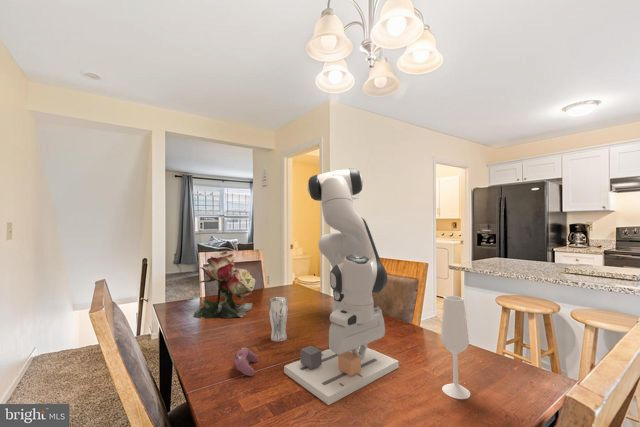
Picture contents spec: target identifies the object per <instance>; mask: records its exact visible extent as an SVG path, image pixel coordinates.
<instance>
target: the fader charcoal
mask: <svg viewBox="0 0 640 427" xmlns="http://www.w3.org/2000/svg"><path fill="white" fill-rule="evenodd" d="M321 352H322V350H321V349H318V348H317V347H315V346H313V345H308V346H306V347H303V348H300V360H301V363H302V364H303V365H305V366H306V367H308V368H310V369H313V368H315V367H317V366H320V365H322V354H321Z"/></svg>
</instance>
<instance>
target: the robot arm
mask: <svg viewBox="0 0 640 427" xmlns="http://www.w3.org/2000/svg"><path fill="white" fill-rule="evenodd" d="M363 186H364V178H363V175H362V173H360V171H359V170H358V168H348V169H337V170H333V171H329V172H323V173H320V174H315V175H312V176H310V177H309V179H308V181H307V192H308V194H309V196H310V198H311V199H312V200H314V201H319V202H321V207H322V208H321V210H322V211H321V212H322V215H323V220H324V222H325V223H326V224H327V225H328V226H329V227H330V228H331V229H333V230H335V231H338V232H330V233H326V234H322V235H321V237H320V238H319V241H318V249H319V251H320V253H321V255H323V256H325V258H326V259H327V260H328V262H329V263H330V266H331V270H330V273H329V284H330V288H331V290H332V294H333V303H332V309H331V310H332V312H331V313H330V314H329V321H330V322H331V324H330V326H329V330H328V346H329V348H328V349H330V350H331V351H332V352H334V353H336V354H339V355H340V354H342V353H345V352H347V351H350V350H351V351H352V353H354V354H356V355H358V356H360V357H361V360H363V359H365V352H366V349H367V348H368V344H369V343H371V342H374V341H377V340H380V339H383V338H384V337H385V334H386V326H385V319H384V315H383V310H382V308H381V307H380V306H377V305H376V306H375V305H374V298H373V294H379V293H381V292H382V291H383V289H385V288H386V286H387V284H388V274H387V270H386V268H385V266H384V264H383V262H382V261H381V258H380V256H379V253H378V250H377V248H376V244H375V242H374V239H373V235H372V234H371V231H370V228H369V225H368V223H367V221H366V219H365V218H363V217H362V216H361V215H359V213H358V211H356V208H355V206H354V201H353V197H352V196H355V195H358V194H361V191H362V190H363ZM359 347H360V349H359ZM357 350H359V352H358V351H357Z"/></svg>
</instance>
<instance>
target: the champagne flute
mask: <svg viewBox="0 0 640 427" xmlns="http://www.w3.org/2000/svg"><path fill="white" fill-rule="evenodd" d="M442 302H443V305H442V315H441V316H442V317H441V327H440V328H441V330H440V341H441V343H442V345H443V346H444V347H445V348H446V349H447V350H448V351H449V352H450V353H451V354H452V378H453V379H452V383H448V384H444V385H443V386H442V388H441V389H442V392H443V393H444V394H445V395H447V396H449V397H450V398H453V399H456V400H457V399H458V400H466V399H469V398H470V396H471V391H470V390H468V388H466V387H464V386H462V385H461V384H459V361H458V360H459V358H458V355H459V354H461V353H462V352H464V351H465V350H466V349H468V348H469V347H468V346H469V345H470V338H469V330H468V323H467V317H466V307H465V300H464V298H463V297H461V296H457V295H445V296H443V301H442Z"/></svg>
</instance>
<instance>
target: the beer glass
mask: <svg viewBox="0 0 640 427" xmlns="http://www.w3.org/2000/svg"><path fill="white" fill-rule="evenodd" d="M268 309H269V311H268V312H269V319H270V325H271V326H270V327H271V334H270V341H272V342H278V343H279V342H283V341H285V340H287V338H288V336H287V328H286V327H287V320H288V309H289V306H288V297H285V296H274V297H271V298H269V308H268Z"/></svg>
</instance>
